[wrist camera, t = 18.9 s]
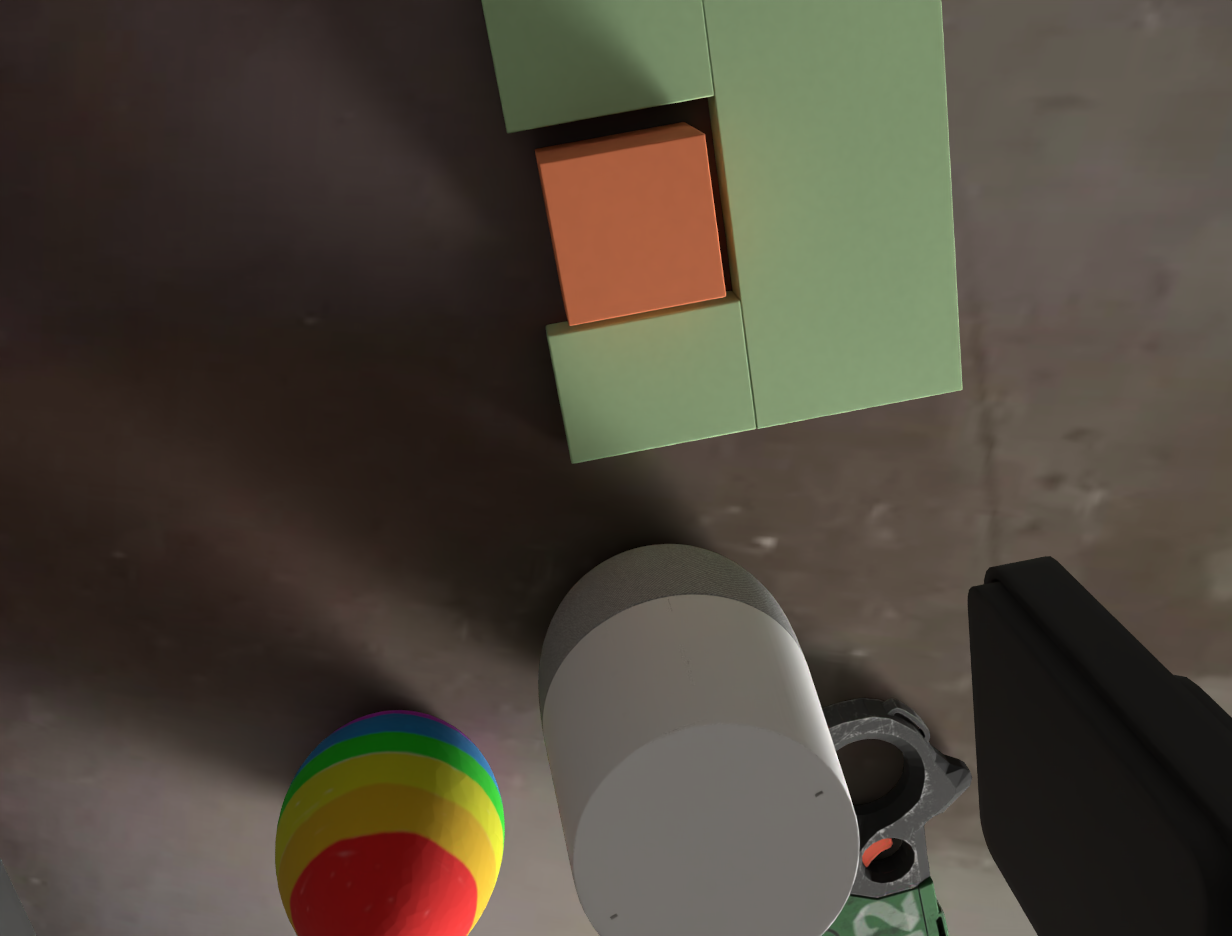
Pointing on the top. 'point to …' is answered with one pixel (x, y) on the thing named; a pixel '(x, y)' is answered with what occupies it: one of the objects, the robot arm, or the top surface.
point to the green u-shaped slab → (761, 208)
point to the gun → (895, 823)
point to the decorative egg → (390, 831)
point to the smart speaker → (692, 754)
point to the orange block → (632, 222)
